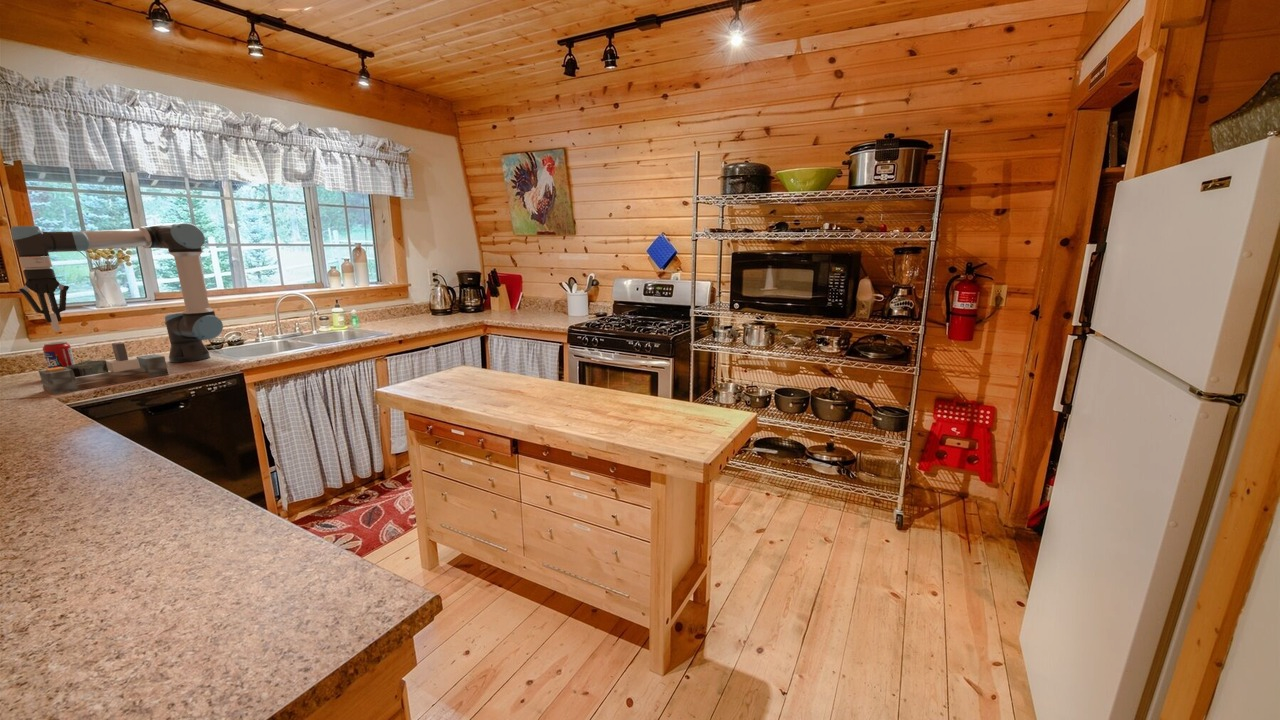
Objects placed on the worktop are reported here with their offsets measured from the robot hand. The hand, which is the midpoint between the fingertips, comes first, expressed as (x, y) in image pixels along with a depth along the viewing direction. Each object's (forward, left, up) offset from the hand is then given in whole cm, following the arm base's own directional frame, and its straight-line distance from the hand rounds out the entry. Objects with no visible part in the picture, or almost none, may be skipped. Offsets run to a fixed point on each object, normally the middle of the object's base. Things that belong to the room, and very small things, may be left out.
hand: (56, 330), depth 196 cm
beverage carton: (-7, -18, -23) cm, 31 cm away
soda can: (-4, -30, -23) cm, 38 cm away
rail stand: (-10, +3, -23) cm, 25 cm away
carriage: (-15, +3, -19) cm, 24 cm away
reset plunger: (+4, +3, -19) cm, 19 cm away
